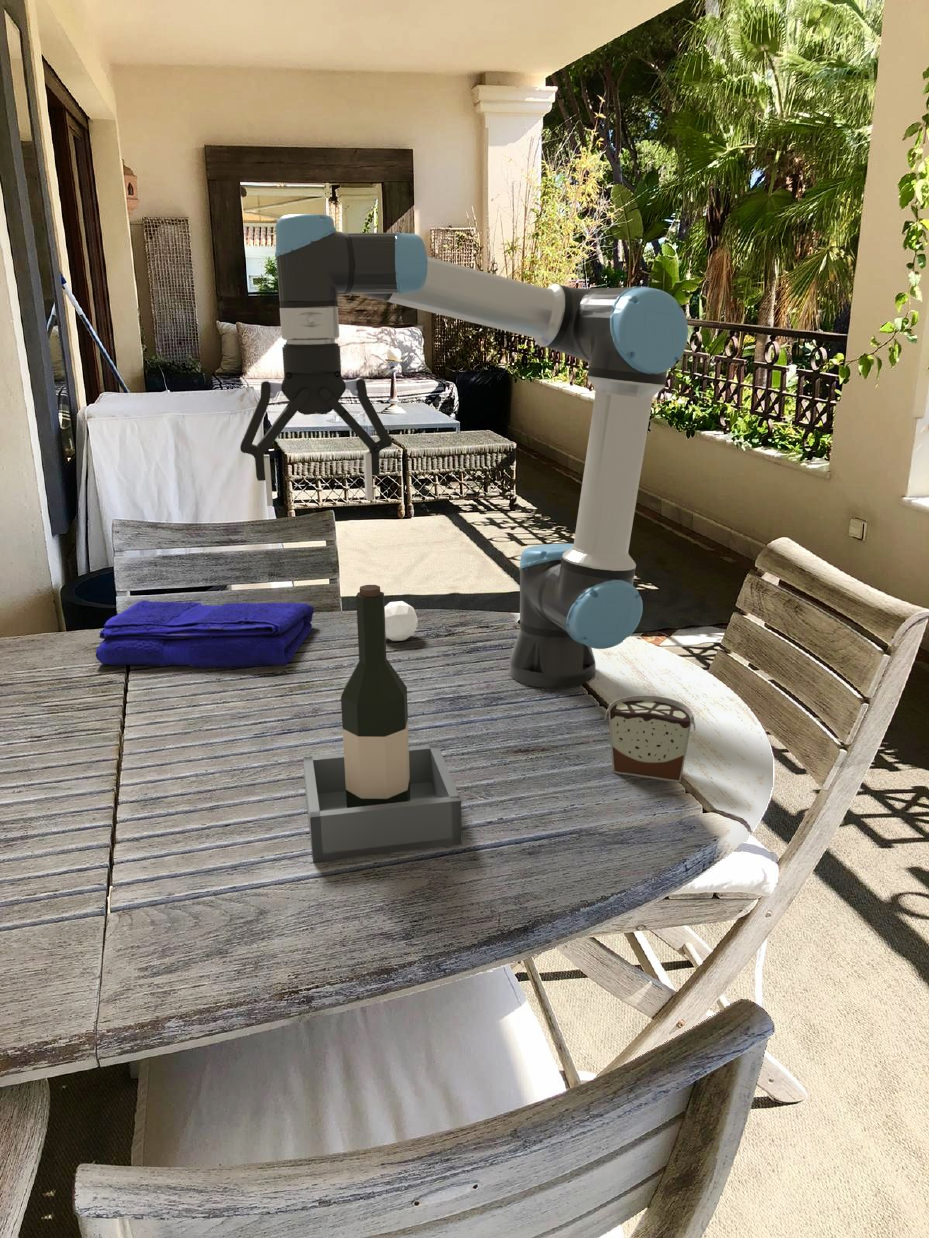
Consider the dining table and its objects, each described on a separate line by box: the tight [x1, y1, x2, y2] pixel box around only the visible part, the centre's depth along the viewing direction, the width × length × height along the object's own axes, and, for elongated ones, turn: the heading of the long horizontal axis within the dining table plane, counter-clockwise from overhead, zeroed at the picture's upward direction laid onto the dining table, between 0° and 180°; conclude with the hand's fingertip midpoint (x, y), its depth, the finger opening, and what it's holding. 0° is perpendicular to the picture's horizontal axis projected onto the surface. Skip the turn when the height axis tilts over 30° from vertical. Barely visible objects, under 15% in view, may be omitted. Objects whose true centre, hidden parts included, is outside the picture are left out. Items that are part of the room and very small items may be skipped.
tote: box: [302, 743, 463, 863], centre depth 124 cm, size 18×16×6 cm
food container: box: [603, 694, 696, 783], centre depth 137 cm, size 12×6×10 cm, turn 71°
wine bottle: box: [340, 584, 410, 808], centre depth 120 cm, size 8×8×30 cm
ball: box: [385, 600, 419, 642], centre depth 190 cm, size 8×8×8 cm
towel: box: [95, 600, 315, 669], centre depth 187 cm, size 26×36×9 cm
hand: (320, 501), depth 135 cm, fingers open, 13 cm apart
